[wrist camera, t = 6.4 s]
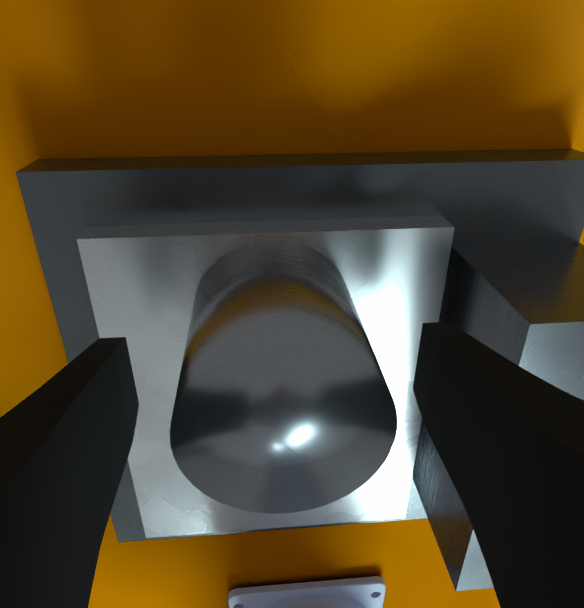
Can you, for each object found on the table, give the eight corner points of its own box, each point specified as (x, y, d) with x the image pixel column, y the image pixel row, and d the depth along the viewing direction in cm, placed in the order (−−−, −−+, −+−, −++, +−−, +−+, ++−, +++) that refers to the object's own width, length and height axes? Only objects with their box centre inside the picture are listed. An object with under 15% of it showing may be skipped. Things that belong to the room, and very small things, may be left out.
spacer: (345, 371, 15) (386, 505, 11) (201, 378, 15) (182, 520, 10) (354, 236, 13) (410, 336, 9) (185, 242, 13) (154, 348, 8)
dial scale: (481, 484, 22) (561, 635, 17) (126, 510, 21) (83, 682, 15) (572, 149, 15) (770, 214, 9) (37, 159, 14) (-106, 242, 8)
